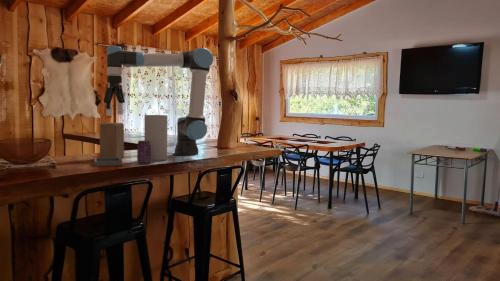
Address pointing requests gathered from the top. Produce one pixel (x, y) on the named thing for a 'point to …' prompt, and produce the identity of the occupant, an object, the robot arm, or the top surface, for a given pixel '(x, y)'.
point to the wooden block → (111, 140)
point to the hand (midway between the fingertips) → (114, 115)
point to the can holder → (108, 161)
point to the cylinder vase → (157, 136)
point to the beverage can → (144, 152)
